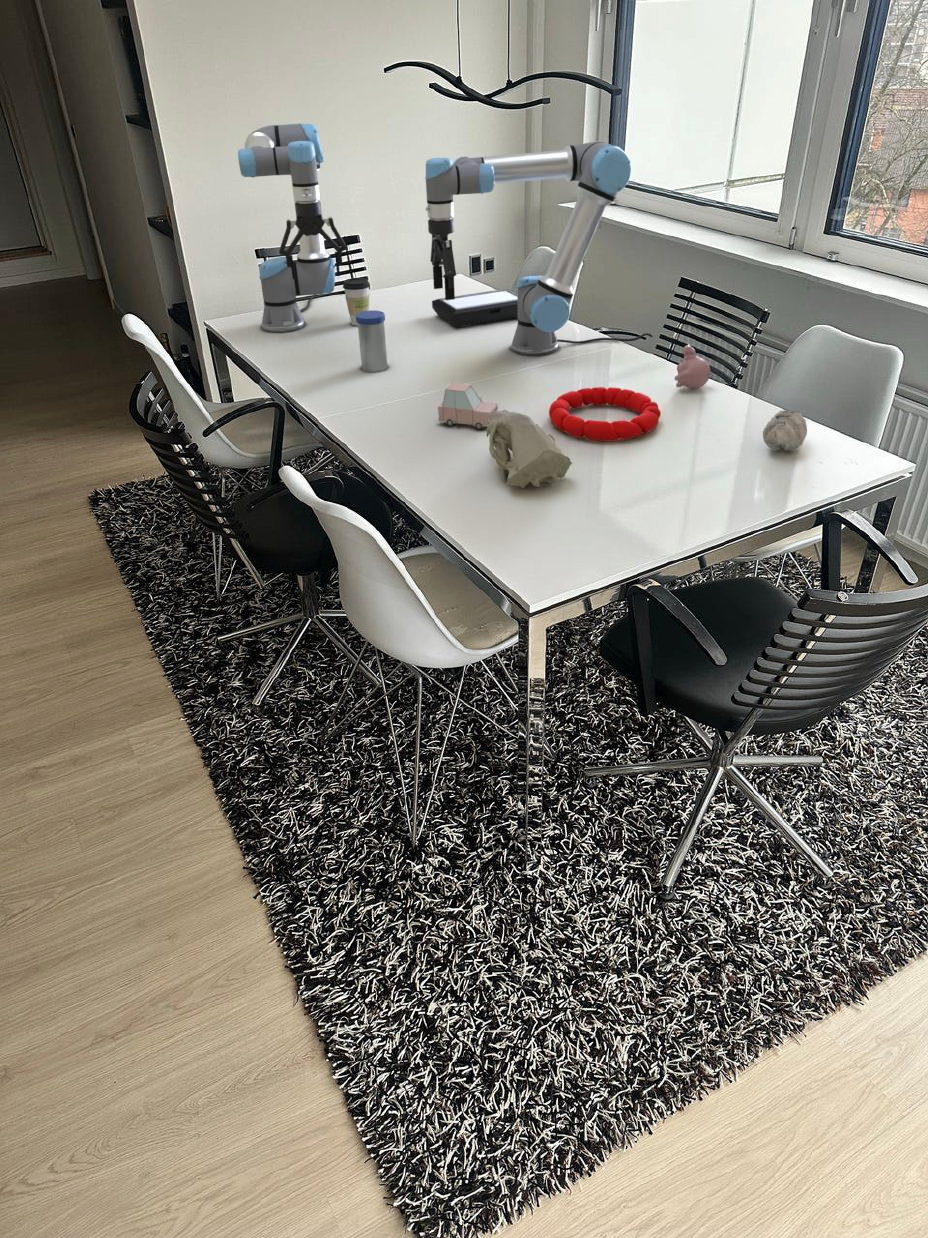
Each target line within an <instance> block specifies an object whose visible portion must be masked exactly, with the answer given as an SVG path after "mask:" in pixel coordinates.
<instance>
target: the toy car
mask: <svg viewBox="0 0 928 1238" xmlns="http://www.w3.org/2000/svg"><path fill="white" fill-rule="evenodd" d="M498 409H499V404H498V403H497V402H490V401H489V402H487V401H483V397H481V396H480V395H479V394H478V393H477V391H476V390H475V389H474V386H472V384H469V383H459V382H451V383H450V384H449V385H448V386H447V387H446V388H445V389H444V394H443V399H442V403H440V404H439V405H438V406H437V413H438V421H439V422H443V423H446V425H447V426H448V427H452V426H454V425H455V424H461V425H469V426H473V427H475V429H476V430H479V431H480V430H481V429H483V428H485V427H486V428H487V423H488V422H490V414H491V413H492V412H496V411H499V410H498Z"/></svg>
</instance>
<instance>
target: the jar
mask: <svg viewBox="0 0 928 1238" xmlns="http://www.w3.org/2000/svg"><path fill="white" fill-rule="evenodd" d="M357 330H358V332H357V333H358V342H359V343H358V344H359V352H360V362H361V363H360V364H361V370H362V371H364V372H367V373H378V372H379V373H380V372H383V371H385V370H387V369H388V357H387V344H386V343H387V341H386V331H385V321H384V322H382V323H379V324H373V325H363V324H359V323H358V326H357Z"/></svg>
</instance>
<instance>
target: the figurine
mask: <svg viewBox="0 0 928 1238" xmlns="http://www.w3.org/2000/svg"><path fill="white" fill-rule="evenodd" d="M682 354H683V358H684V359H683V361H682V362H679V363H678V364H677V365H676V372H677V375H675V376H674V381H675V382H676V381H677V382H676V384H675V386H676V388H681V387H686V388H688V389H693V390H694V389H695V390H696V389H700V388H703V387H704V386H705V385H706V384H707V383H708V382H709V379H710V377H711V367H710V364H709V362H708V361H706V359H704V358H702V357H700V356H697V353H696V350H695V349H694V347H692V345H690V344H686V345H685V346H684V347H683V348H682Z"/></svg>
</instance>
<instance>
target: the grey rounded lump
mask: <svg viewBox="0 0 928 1238" xmlns="http://www.w3.org/2000/svg"><path fill="white" fill-rule="evenodd" d="M807 435H808V426H807V421H806V419H805V418H804V416H803V414H801V412H800V411H799V410H797V411H793V410H779V411H778V412H777V413H775V414H774V415H773V416H772V417H771V419H770V420H769V421H767V423H766V425H765V427H764V428H763V430H762V439H763V442H764V443H765V445H766V446H767V447H768V448H769V449H771V450H774V451H779V450H781V449H783V450H784V451H794V450H797V449H799V448H801V446H802V445H803V444H804V442H805V440H806V437H807Z"/></svg>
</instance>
